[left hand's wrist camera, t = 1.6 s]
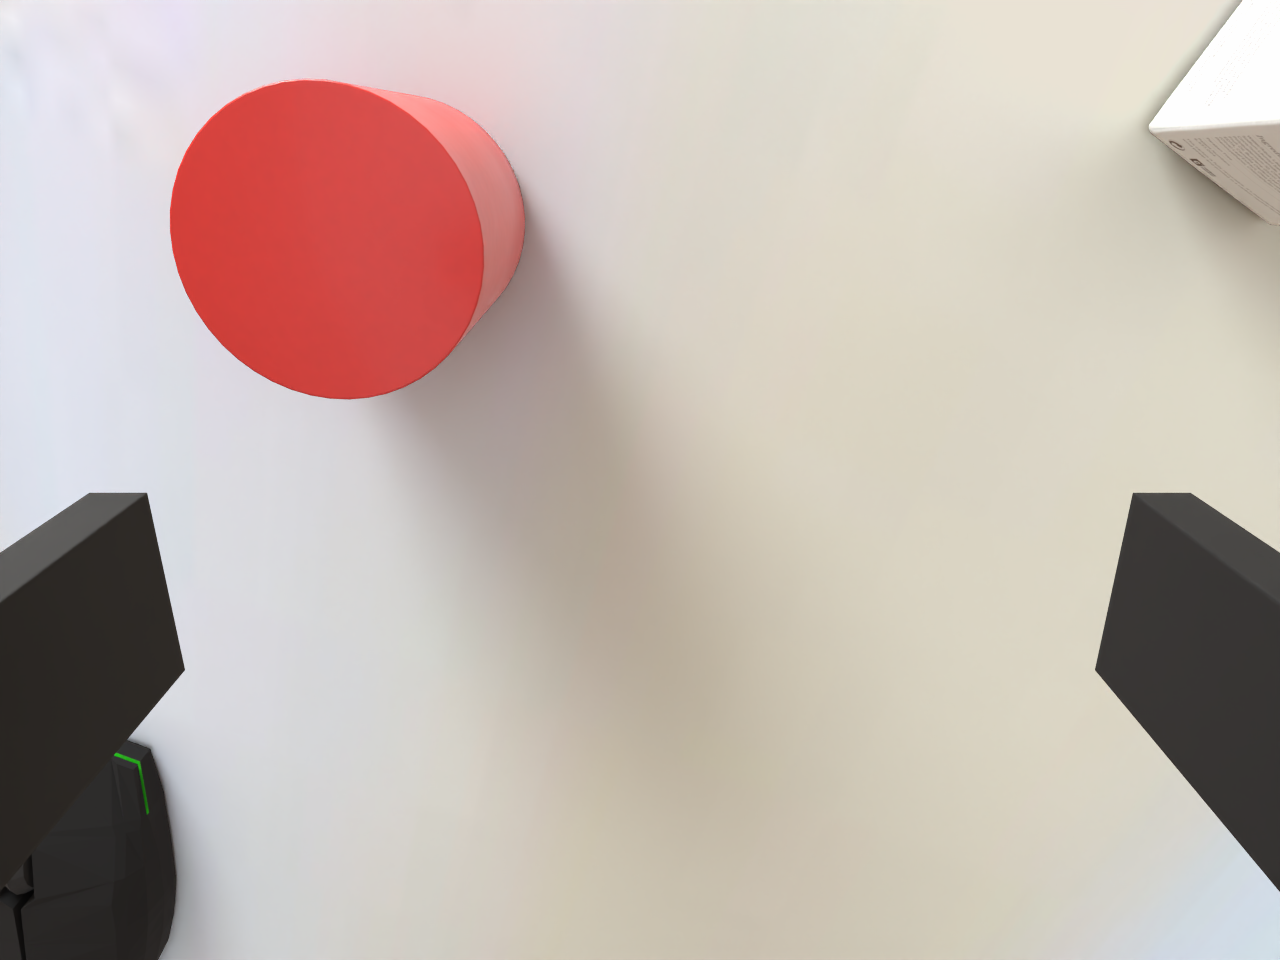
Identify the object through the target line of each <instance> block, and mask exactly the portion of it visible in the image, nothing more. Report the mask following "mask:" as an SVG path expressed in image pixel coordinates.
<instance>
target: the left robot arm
mask: <svg viewBox="0 0 1280 960" xmlns="http://www.w3.org/2000/svg"><path fill="white" fill-rule="evenodd" d="M184 670H185V668H184V663H183V659H182V654H181V649H180V645H179V640H178V635H177V631H176V626H175V621H174V617H173V612H172V607H171V603H170V598H169V593H168V589H167V584H166V579H165V575H164V570H163V565H162V561H161V556H160V551H159V547H158V542H157V537H156V533H155V528H154V523H153V519H152V514H151V509H150V505H149V500H148V495H147V493H89V494H87V495H86V496H84V497H83V498H81V499H80V500H78V501H77V502H75V503H74V504H72V505H71V506H69V507H68V508H66V509H65V510H63V511H62V512H60V513H59V514H57V515H56V516H54V517H53V518H51V519H50V520H48V521H47V522H45V523H44V524H42V525H41V526H39V527H38V528H36V529H35V530H33V531H32V532H30V533H29V534H28V535H26V536H25V537H23V538H22V539H20V540H19V541H17V542H16V543H14V544H13V545H11V546H10V547H8V548H7V549H5V550H4V551H2V552H1V553H0V891H1V890H2V889H3V888H4V886H5V885H6V884H7V883H8V882H9V880H10V879H11V878H12V877H13V876H14V874H15V873H16V872H17V871H18V870H19V868H20V867H21V866H22V865H23V864H24V862H25V861H26V860H27V859H28V858H29V856H30V855H31V854H32V853H33V852H34V850H35V849H36V848H37V847H38V846H39V844H40V843H41V842H42V841H43V840H44V838H45V837H46V836H47V835H48V834H49V832H50V831H51V830H52V829H53V828H54V826H55V825H56V824H57V823H58V822H59V820H60V819H61V818H62V817H63V816H64V814H65V813H66V812H67V811H68V810H69V808H70V807H71V806H72V805H73V804H74V802H75V801H76V800H77V799H78V798H79V796H80V795H81V794H82V793H83V792H84V790H85V789H86V788H87V787H88V786H89V784H90V783H91V782H92V781H93V780H94V778H95V777H96V776H97V775H98V774H99V772H100V771H101V770H102V769H103V768H104V766H105V765H106V764H107V763H108V762H109V760H110V759H111V758H112V757H113V756H114V754H115V753H116V752H117V751H118V750H119V748H120V747H121V746H122V745H123V744H124V742H125V741H126V740H127V739H128V738H129V736H130V735H131V734H132V733H133V732H134V730H135V729H136V728H137V727H138V726H139V724H140V723H141V722H142V721H143V720H144V718H145V717H146V716H147V715H148V714H149V712H150V711H151V710H152V709H153V708H154V706H155V705H156V704H157V703H158V702H159V700H160V699H161V698H162V697H163V696H164V694H165V693H166V692H167V691H168V690H169V688H170V687H171V686H172V685H173V684H174V682H175V681H176V680H177V679H178V678H179V676H180V675H181V674H182V673H183V672H184ZM1095 670H1096V672H1097V673H1098V674H1099V675H1100V676H1101V678H1102V679H1103V680H1104V681H1105V682H1106V684H1107V685H1108V686H1109V687H1110V688H1111V690H1112V691H1113V692H1114V693H1115V694H1116V696H1117V697H1118V698H1119V699H1120V700H1121V702H1122V703H1123V704H1124V705H1125V706H1126V708H1127V709H1128V710H1129V711H1130V712H1131V714H1132V715H1133V716H1134V717H1135V718H1136V720H1137V721H1138V722H1139V723H1140V724H1141V726H1142V727H1143V728H1144V729H1145V730H1146V732H1147V733H1148V734H1149V735H1150V736H1151V738H1152V739H1153V740H1154V741H1155V742H1156V744H1157V745H1158V746H1159V747H1160V748H1161V750H1162V751H1163V752H1164V753H1165V754H1166V756H1167V757H1168V758H1169V759H1170V760H1171V762H1172V763H1173V764H1174V765H1175V766H1176V768H1177V769H1178V770H1179V771H1180V772H1181V774H1182V775H1183V776H1184V777H1185V778H1186V780H1187V781H1188V782H1189V783H1190V784H1191V786H1192V787H1193V788H1194V789H1195V790H1196V792H1197V793H1198V794H1199V795H1200V796H1201V798H1202V799H1203V800H1204V801H1205V802H1206V804H1207V805H1208V806H1209V807H1210V808H1211V810H1212V811H1213V812H1214V813H1215V814H1216V816H1217V817H1218V818H1219V819H1220V820H1221V822H1222V823H1223V824H1224V825H1225V826H1226V828H1227V829H1228V830H1229V831H1230V832H1231V834H1232V835H1233V836H1234V837H1235V838H1236V840H1237V841H1238V842H1239V843H1240V844H1241V846H1242V847H1243V848H1244V849H1245V850H1246V852H1247V853H1248V854H1249V855H1250V856H1251V858H1252V859H1253V860H1254V861H1255V862H1256V864H1257V865H1258V866H1259V867H1260V868H1261V870H1262V871H1263V872H1264V873H1265V874H1266V876H1267V877H1268V878H1269V879H1270V880H1271V882H1272V883H1273V884H1274V885H1275V886H1276V888H1277V889H1278V890H1279V891H1280V553H1279V552H1278V551H1276V550H1275V549H1273V548H1272V547H1270V546H1269V545H1267V544H1266V543H1264V542H1263V541H1261V540H1260V539H1258V538H1257V537H1255V536H1254V535H1252V534H1251V533H1249V532H1248V531H1247V530H1245V529H1244V528H1242V527H1241V526H1239V525H1238V524H1236V523H1235V522H1233V521H1232V520H1230V519H1229V518H1227V517H1226V516H1224V515H1223V514H1221V513H1220V512H1218V511H1217V510H1215V509H1214V508H1212V507H1211V506H1209V505H1208V504H1206V503H1205V502H1203V501H1202V500H1200V499H1199V498H1197V497H1196V496H1194V495H1193V494H1191V493H1133V495H1132V500H1131V505H1130V509H1129V514H1128V519H1127V523H1126V528H1125V533H1124V537H1123V542H1122V547H1121V551H1120V556H1119V561H1118V565H1117V570H1116V575H1115V579H1114V584H1113V589H1112V593H1111V598H1110V603H1109V607H1108V612H1107V617H1106V621H1105V626H1104V631H1103V635H1102V640H1101V645H1100V649H1099V654H1098V659H1097V663H1096V668H1095Z"/></svg>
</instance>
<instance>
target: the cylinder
mask: <svg viewBox="0 0 1280 960" xmlns="http://www.w3.org/2000/svg"><path fill="white" fill-rule="evenodd" d="M170 234H171V241H172V248H173V254H174V258H175V262H176V266H177V269H178V273H179V276H180V278H181V281H182V283H183V286H184V288H185V291H186V293H187V295H188V297H189V299H190V301H191V302H192V304H193V306H194V308H195V310H196V312H197V313H198V315H199V316H200V318H201V319H202V320H203V322H204V323H205V325H206V326H207V328H208V329H209V330H210V331H211V333H212V334H213V335H214V336H215V337H216V338H217V339H218V341H219V342H220V343H221V344H222V345H223V346H224V347H225V348H226V349H227V350H228V351H230V352H231V353H232V354H233V355H234V356H235V357H236V358H237V359H238V360H240V361H241V362H242V363H244V364H245V365H247V366H248V367H249V368H251V369H252V370H253V371H255V372H257V373H258V374H260V375H262V376H264V377H265V378H267V379H269V380H271V381H272V382H275V383H277V384H279V385H282V386H284V387H286V388H289V389H291V390H294V391H298V392H301V393H305V394H308V395H312V396H318V397H324V398H330V399H359V398H369V397H374V396H378V395H383V394H387V393H390V392H393V391H395V390H398V389H401V388H404V387H406V386H408V385H409V384H411V383H413V382H415V381H417V380H419V379H421V378H422V377H423V376H425V375H426V374H428V373H429V372H430V371H432V370H433V369H435V368H436V367H437V366H438V365H439V364H440V363H441V362H442V361H443V360H444V359H445V358H446V357H447V356H448V355H449V354H450V353H451V352H452V351H453V350H454V348H455V347H456V346H457V345H458V344H459V343H460V341H461V340H462V339H463V338H464V337H465V336H466V334H467V333H468V332H469V331H470V330H471V329H472V327H473V326H474V325H475V324H476V323H477V322H478V321H479V319H480V318H481V317H482V316H483V315H484V314H485V312H486V311H487V310H488V309H489V308H490V307H491V305H492V304H493V303H494V302H495V301H496V300H497V298H498V297H499V296H500V295H501V293H502V292H503V291H504V290H505V288H506V287H507V285H508V283H509V282H510V280H511V278H512V276H513V275H514V272H515V270H516V267H517V265H518V263H519V260H520V256H521V252H522V248H523V242H524V234H525V214H524V206H523V200H522V196H521V192H520V188H519V184H518V182H517V179H516V177H515V174H514V172H513V169H512V168H511V166H510V164H509V162H508V160H507V158H506V156H505V155H504V153H503V152H502V151H501V149H500V148H499V146H498V145H497V144H496V142H495V141H494V140H493V139H492V138H491V137H490V136H489V135H488V133H487V132H486V131H485V130H484V129H483V128H481V127H480V126H479V125H478V124H477V123H476V122H474V121H473V120H472V119H471V118H469V117H468V116H466V115H464V114H463V113H461V112H460V111H458V110H456V109H454V108H452V107H450V106H448V105H446V104H444V103H441V102H438V101H435V100H432V99H429V98H425V97H419V96H414V95H409V94H403V93H397V92H392V91H386V90H381V89H375V88H369V87H364V86H358V85H353V84H347V83H341V82H336V81H330V80H319V79H298V80H287V81H281V82H277V83H273V84H269V85H265V86H262V87H259V88H257V89H254V90H252V91H250V92H247V93H245V94H243V95H241V96H240V97H238V98H236V99H235V100H233V101H231V102H230V103H228V104H226V105H225V106H224V107H223V108H222V109H220V110H219V111H218V112H217V113H216V114H215V115H213V116H212V117H211V118H210V119H209V120H208V121H207V123H206V124H205V125H204V126H203V127H202V128H201V130H200V131H199V132H198V133H197V135H196V136H195V138H194V139H193V141H192V143H191V144H190V146H189V147H188V149H187V151H186V153H185V155H184V157H183V160H182V162H181V164H180V167H179V169H178V172H177V176H176V180H175V183H174V187H173V192H172V199H171V207H170Z"/></svg>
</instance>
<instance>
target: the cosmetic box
mask: <svg viewBox="0 0 1280 960" xmlns="http://www.w3.org/2000/svg"><path fill="white" fill-rule="evenodd" d="M1149 130H1150V132H1151V134H1153V135H1154V136H1155V137H1157V138H1158V139H1159V140H1161V141H1162V142H1163V143H1164V144H1166V145H1167V146H1168V147H1170V148H1171V149H1172V150H1173V151H1175V152H1176V153H1177V154H1178V155H1180V156H1181V157H1182V158H1183V159H1185V160H1186V161H1187V162H1188V163H1190V164H1191V165H1192V166H1194V167H1195V168H1196V169H1197V170H1199V171H1200V172H1201V173H1203V174H1204V175H1205V176H1207V177H1208V178H1209V179H1211V180H1212V181H1213V182H1214V183H1216V184H1217V185H1218V186H1220V187H1221V188H1222V189H1224V190H1225V191H1226V192H1228V193H1229V194H1230V195H1231V196H1233V197H1234V198H1235V199H1237V200H1238V201H1239V202H1241V203H1242V204H1243V205H1245V206H1246V207H1247V208H1249V209H1250V210H1251V211H1253V212H1254V213H1255V214H1257V215H1258V216H1259V217H1261V218H1262V219H1263V220H1265V221H1266V222H1267V223H1269V224H1271V225H1279V226H1280V0H1243V1H1242V2H1241V3H1240V5H1239V6H1238V7H1237V9H1236V10H1235V11H1234V13H1233V14H1232V15H1231V17H1230V18H1229V19H1228V21H1227V22H1226V23H1225V24H1224V26H1223V27H1222V28H1221V30H1220V31H1219V32H1218V34H1217V35H1216V36H1215V38H1214V39H1213V40H1212V42H1211V43H1210V44H1209V46H1208V47H1207V48H1206V50H1205V51H1204V52H1203V53H1202V55H1201V56H1200V57H1199V59H1198V60H1197V61H1196V63H1195V64H1194V65H1193V67H1192V68H1191V69H1190V71H1189V72H1188V73H1187V75H1186V76H1185V77H1184V79H1183V80H1182V81H1181V83H1180V84H1179V85H1178V87H1177V88H1176V89H1175V91H1174V92H1173V93H1172V95H1171V96H1170V97H1169V99H1168V100H1167V101H1166V103H1165V104H1164V105H1163V107H1162V108H1161V109H1160V111H1159V112H1158V114H1157V115H1156V116H1155V118H1154V119H1153V120H1152V122H1151V123H1150V125H1149Z"/></svg>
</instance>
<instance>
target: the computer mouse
mask: <svg viewBox="0 0 1280 960" xmlns="http://www.w3.org/2000/svg"><path fill="white" fill-rule="evenodd" d="M174 904H175V868H174V860H173V852H172V844H171V836H170V830H169V824H168V819H167V813H166V807H165V800H164V792H163V789H162V786H161V783H160V779H159V776H158V773H157V770H156V766H155V763H154V760H153V757H152V754H151V750H150V749H149V748H146V747H143V746H141V745H138V744H135V743H132V742H130V741H127V740H126V741H125V742H124V744H123V745H122V746H121V747H120V748H119V750H118V751H117V752H116V753H115V754H114V756H113V757H112V758H111V759H110V760H109V762H108V763H107V764H106V765H105V766H104V768H103V769H102V770H101V771H100V772H99V774H98V775H97V776H96V777H95V778H94V780H93V781H92V782H91V783H90V784H89V786H88V787H87V788H86V789H85V790H84V792H83V793H82V794H81V795H80V796H79V798H78V799H77V800H76V801H75V802H74V804H73V805H72V806H71V807H70V808H69V810H68V811H67V812H66V813H65V814H64V816H63V817H62V818H61V819H60V820H59V822H58V823H57V824H56V825H55V826H54V828H53V829H52V830H51V831H50V832H49V834H48V835H47V836H46V837H45V838H44V840H43V841H42V842H41V843H40V844H39V846H38V847H37V848H36V849H35V850H34V852H33V853H32V854H31V855H30V856H29V858H28V859H27V860H26V861H25V862H24V864H23V865H22V866H21V867H20V868H19V870H18V871H17V872H16V873H15V874H14V876H13V877H12V878H11V879H10V880H9V882H8V883H7V884H6V885H5V886H4V888H3V889H2V890H1V891H0V960H158V959H159V957H160V955H161V953H162V951H163V949H164V947H165V945H166V943H167V941H168V938H169V933H170V928H171V923H172V919H173V913H174Z"/></svg>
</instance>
